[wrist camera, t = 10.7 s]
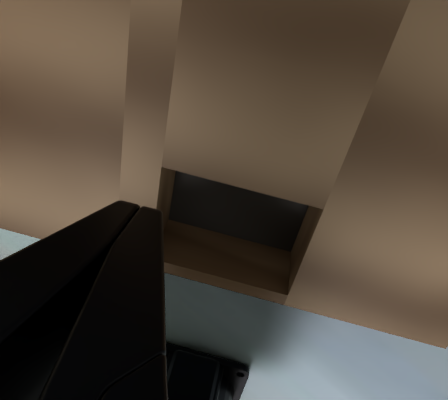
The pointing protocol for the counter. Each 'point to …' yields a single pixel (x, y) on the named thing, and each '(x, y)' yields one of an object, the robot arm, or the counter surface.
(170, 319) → the counter surface
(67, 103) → the trap deck
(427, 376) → the counter surface
